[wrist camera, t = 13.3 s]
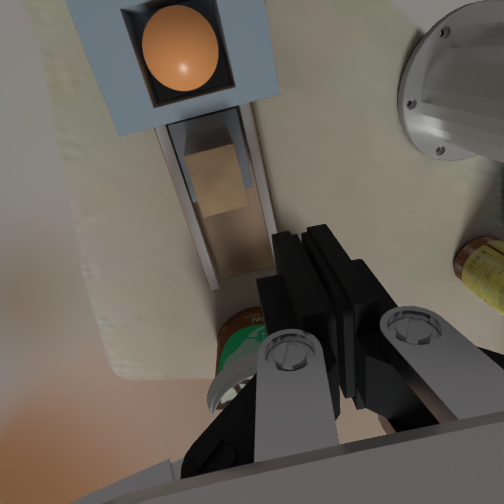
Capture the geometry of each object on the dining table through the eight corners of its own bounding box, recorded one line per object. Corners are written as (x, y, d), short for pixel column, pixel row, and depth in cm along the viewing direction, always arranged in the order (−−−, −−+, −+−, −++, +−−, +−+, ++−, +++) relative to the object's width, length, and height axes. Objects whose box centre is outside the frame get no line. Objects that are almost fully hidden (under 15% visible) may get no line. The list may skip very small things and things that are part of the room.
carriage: (232, 103, 28) (246, 121, 21) (249, 175, 31) (267, 215, 24) (170, 119, 28) (161, 143, 21) (193, 190, 31) (192, 235, 23)
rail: (244, 80, 29) (249, 82, 27) (281, 255, 38) (288, 270, 35) (149, 105, 29) (144, 110, 27) (207, 275, 38) (208, 291, 35)
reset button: (204, 6, 22) (206, -4, 18) (221, 76, 24) (226, 80, 20) (141, 22, 22) (130, 16, 18) (163, 91, 24) (157, 98, 20)
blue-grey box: (237, -20, 26) (255, -52, 18) (257, 83, 30) (280, 94, 22) (97, 16, 26) (55, -1, 18) (134, 115, 30) (112, 138, 22)
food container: (312, 294, 41) (344, 359, 32) (307, 336, 44) (335, 406, 35) (202, 301, 39) (204, 371, 31) (204, 344, 42) (207, 419, 33)
